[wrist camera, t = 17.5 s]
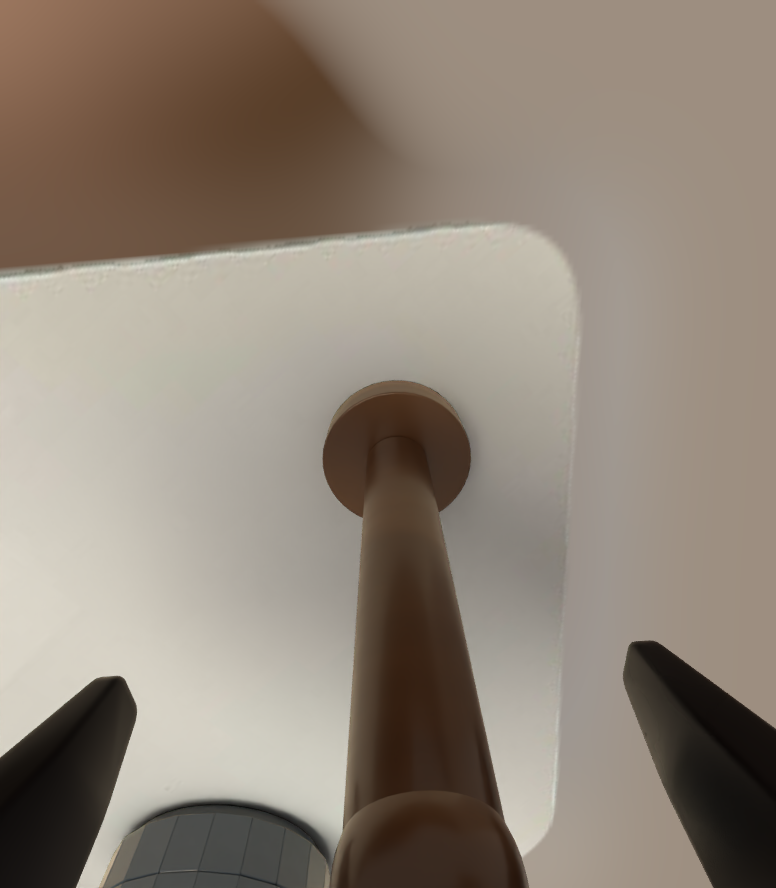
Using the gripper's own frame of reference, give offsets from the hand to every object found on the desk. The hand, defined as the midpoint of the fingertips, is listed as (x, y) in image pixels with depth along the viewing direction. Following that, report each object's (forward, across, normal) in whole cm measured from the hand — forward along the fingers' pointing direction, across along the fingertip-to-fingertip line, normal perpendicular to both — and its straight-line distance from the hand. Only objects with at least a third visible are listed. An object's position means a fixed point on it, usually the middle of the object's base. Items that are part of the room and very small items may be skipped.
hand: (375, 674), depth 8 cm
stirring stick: (+8, -1, -1) cm, 8 cm away
